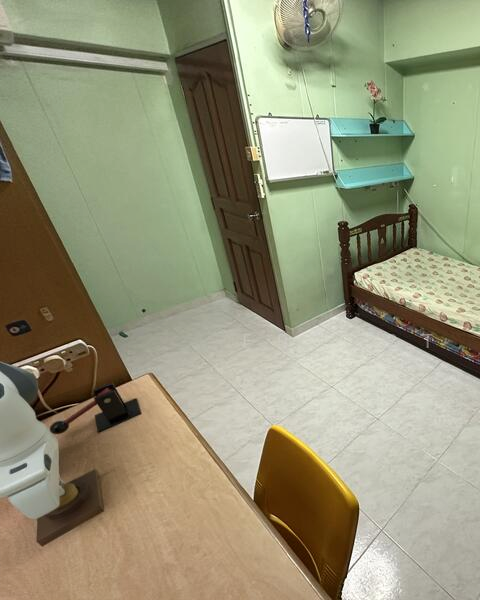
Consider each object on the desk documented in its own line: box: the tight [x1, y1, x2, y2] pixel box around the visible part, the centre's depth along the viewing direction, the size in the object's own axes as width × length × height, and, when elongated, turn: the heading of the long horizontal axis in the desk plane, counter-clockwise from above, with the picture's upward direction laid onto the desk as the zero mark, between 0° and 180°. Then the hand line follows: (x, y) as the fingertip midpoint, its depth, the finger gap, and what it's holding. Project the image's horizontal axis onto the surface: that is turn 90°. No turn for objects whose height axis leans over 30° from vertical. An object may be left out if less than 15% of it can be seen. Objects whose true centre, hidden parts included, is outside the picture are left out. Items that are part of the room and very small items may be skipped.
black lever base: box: [92, 382, 142, 434], centre depth 91 cm, size 10×8×11 cm
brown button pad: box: [35, 468, 105, 547], centre depth 71 cm, size 10×12×4 cm
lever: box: [49, 387, 111, 435], centre depth 87 cm, size 15×4×4 cm, turn 133°
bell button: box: [56, 482, 79, 509], centre depth 70 cm, size 4×4×2 cm
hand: (59, 491), depth 69 cm, fingers closed
